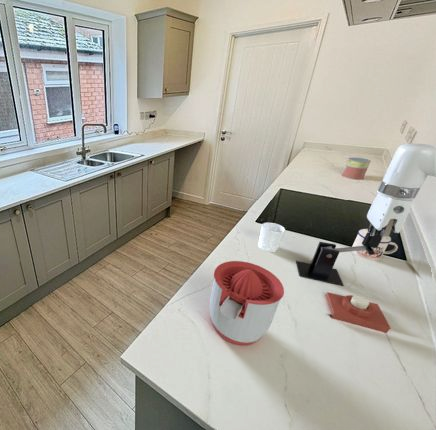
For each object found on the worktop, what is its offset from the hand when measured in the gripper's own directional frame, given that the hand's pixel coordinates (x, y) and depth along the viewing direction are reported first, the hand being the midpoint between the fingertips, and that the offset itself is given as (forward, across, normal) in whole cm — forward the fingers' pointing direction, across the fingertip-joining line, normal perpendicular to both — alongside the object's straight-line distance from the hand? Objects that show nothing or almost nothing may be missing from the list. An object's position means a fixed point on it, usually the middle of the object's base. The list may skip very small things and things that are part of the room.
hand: (369, 245), depth 80 cm
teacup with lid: (+15, +21, -11) cm, 28 cm away
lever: (+4, 0, +4) cm, 6 cm away
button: (+11, -16, +3) cm, 20 cm away
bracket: (+15, 0, +9) cm, 17 cm away
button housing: (+15, -16, +3) cm, 22 cm away
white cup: (+15, +11, +24) cm, 31 cm away
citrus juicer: (+15, -36, +34) cm, 52 cm away
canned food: (+15, +132, -33) cm, 137 cm away
